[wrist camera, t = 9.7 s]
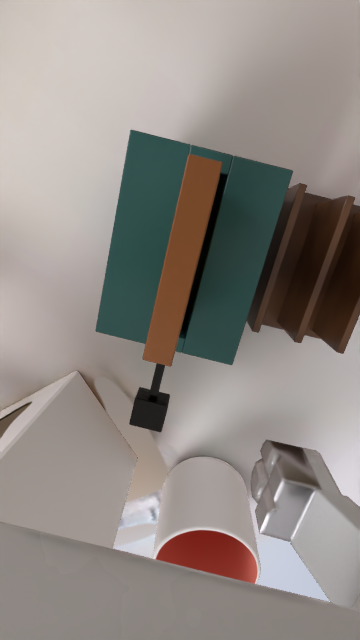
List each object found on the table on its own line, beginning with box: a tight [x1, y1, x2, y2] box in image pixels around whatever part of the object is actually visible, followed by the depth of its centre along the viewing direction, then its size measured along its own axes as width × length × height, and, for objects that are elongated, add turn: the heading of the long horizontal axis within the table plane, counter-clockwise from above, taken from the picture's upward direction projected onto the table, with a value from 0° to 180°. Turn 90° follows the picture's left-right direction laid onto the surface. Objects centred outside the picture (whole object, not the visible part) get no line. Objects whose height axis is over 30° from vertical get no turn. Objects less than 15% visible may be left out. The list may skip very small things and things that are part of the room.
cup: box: [152, 457, 261, 584], centre depth 33 cm, size 10×10×10 cm
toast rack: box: [246, 183, 360, 354], centre depth 27 cm, size 13×9×7 cm
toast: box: [143, 154, 222, 366], centre depth 18 cm, size 9×1×10 cm, turn 166°
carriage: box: [130, 189, 217, 432], centre depth 25 cm, size 20×3×2 cm, turn 166°
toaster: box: [96, 130, 293, 365], centre depth 26 cm, size 13×11×11 cm
